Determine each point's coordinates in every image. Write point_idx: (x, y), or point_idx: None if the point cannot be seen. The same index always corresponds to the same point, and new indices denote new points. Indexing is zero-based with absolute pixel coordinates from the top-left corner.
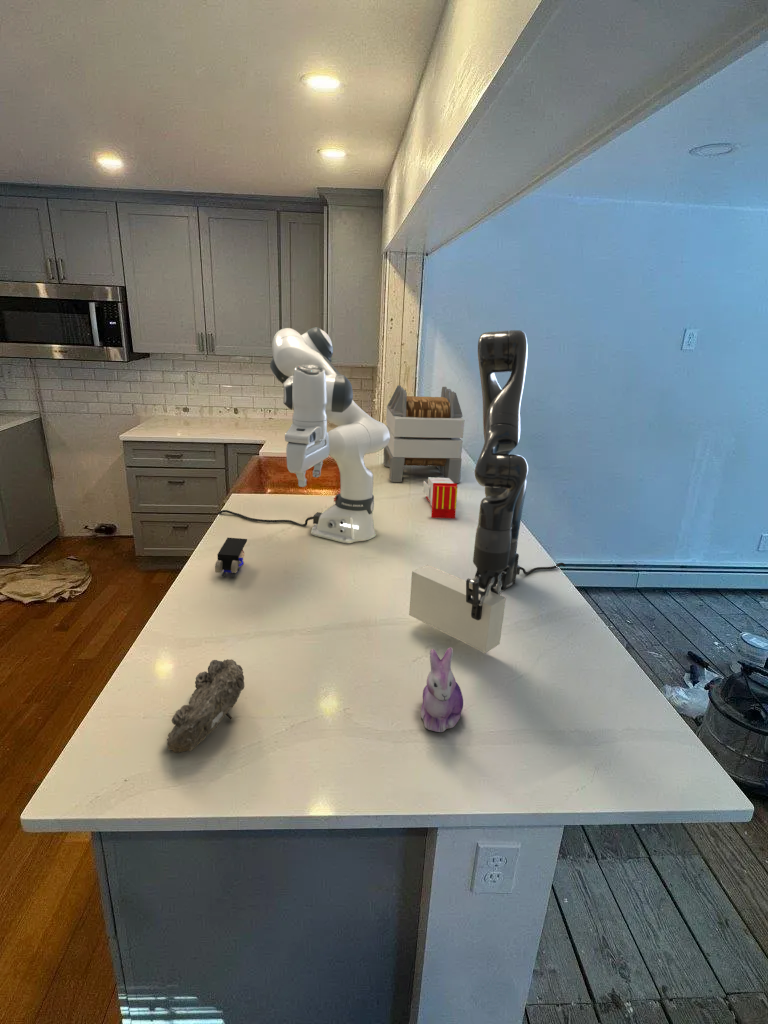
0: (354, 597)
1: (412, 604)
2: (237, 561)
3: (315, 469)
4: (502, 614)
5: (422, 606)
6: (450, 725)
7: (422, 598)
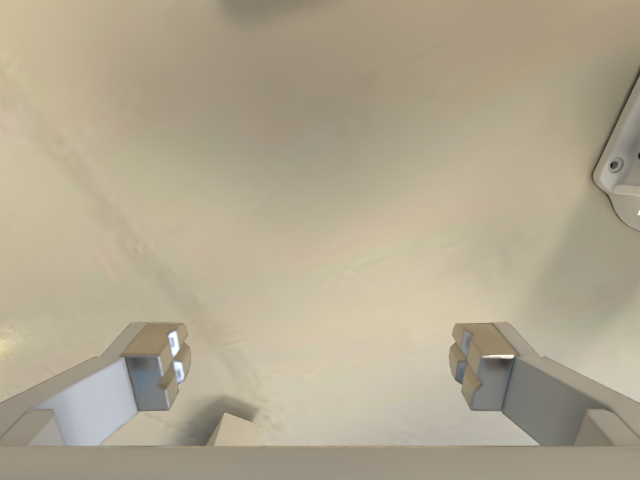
0: (297, 285)
1: (215, 437)
2: None
3: (519, 376)
4: None
5: None
6: None
7: None
